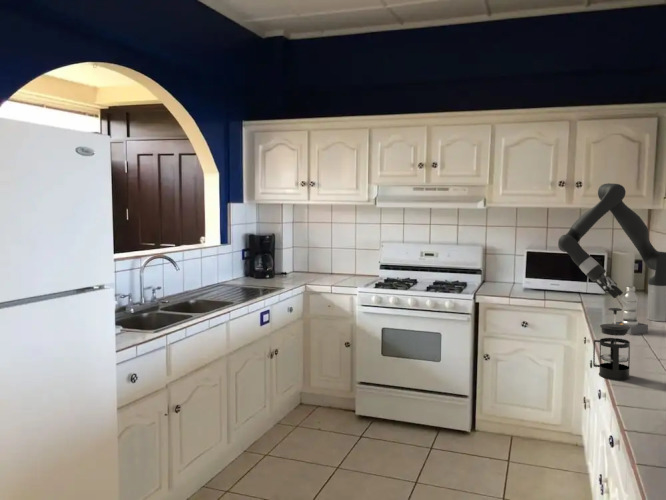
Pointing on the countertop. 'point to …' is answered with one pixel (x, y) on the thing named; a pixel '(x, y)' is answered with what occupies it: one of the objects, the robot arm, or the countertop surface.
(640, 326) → the socket collar
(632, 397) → the countertop surface
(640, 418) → the countertop surface
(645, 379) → the countertop surface
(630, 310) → the silver metal bottle
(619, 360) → the french press
